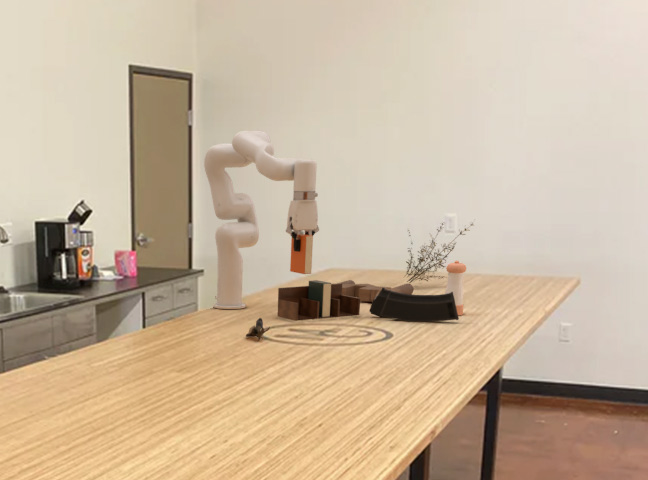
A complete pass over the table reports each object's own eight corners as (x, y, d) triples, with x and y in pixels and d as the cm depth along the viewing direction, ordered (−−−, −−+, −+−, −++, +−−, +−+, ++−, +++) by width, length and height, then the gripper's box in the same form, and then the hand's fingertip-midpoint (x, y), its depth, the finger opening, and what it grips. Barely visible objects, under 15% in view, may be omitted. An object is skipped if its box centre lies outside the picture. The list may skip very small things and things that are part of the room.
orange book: (290, 271, 379) (291, 233, 374) (297, 270, 380) (298, 233, 376) (304, 274, 371) (306, 236, 367) (311, 273, 372) (313, 235, 368)
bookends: (393, 305, 412) (419, 296, 436) (394, 290, 411) (420, 282, 434) (310, 299, 430) (339, 290, 454) (311, 285, 428) (339, 277, 452)
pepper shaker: (466, 313, 390) (471, 260, 384) (456, 316, 385) (461, 262, 379) (448, 311, 395) (452, 259, 389) (438, 314, 390) (442, 260, 384)
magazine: (467, 296, 368) (385, 268, 375) (467, 297, 365) (384, 269, 372) (449, 342, 375) (368, 314, 381) (448, 344, 372) (367, 315, 378)
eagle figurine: (275, 337, 339) (267, 327, 346) (265, 319, 335) (257, 310, 343) (255, 350, 339) (247, 340, 347) (245, 333, 336) (237, 323, 344)
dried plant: (428, 250, 436) (481, 200, 458) (366, 252, 459) (419, 203, 480) (445, 315, 452) (495, 263, 473) (383, 314, 474) (434, 264, 496)
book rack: (277, 318, 383) (278, 287, 380) (339, 312, 394) (341, 283, 391) (295, 322, 373) (297, 291, 370) (359, 317, 384) (360, 286, 381)
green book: (307, 314, 387) (308, 280, 383) (315, 313, 388) (316, 280, 384) (321, 317, 379) (323, 283, 375) (330, 316, 380) (331, 282, 376)
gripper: (317, 195, 374) (315, 249, 380) (278, 196, 367) (275, 251, 373) (330, 196, 367) (327, 250, 373) (289, 197, 361) (287, 253, 367)
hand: (301, 250), depth 373 cm, fingers closed on orange book, 3 cm apart
